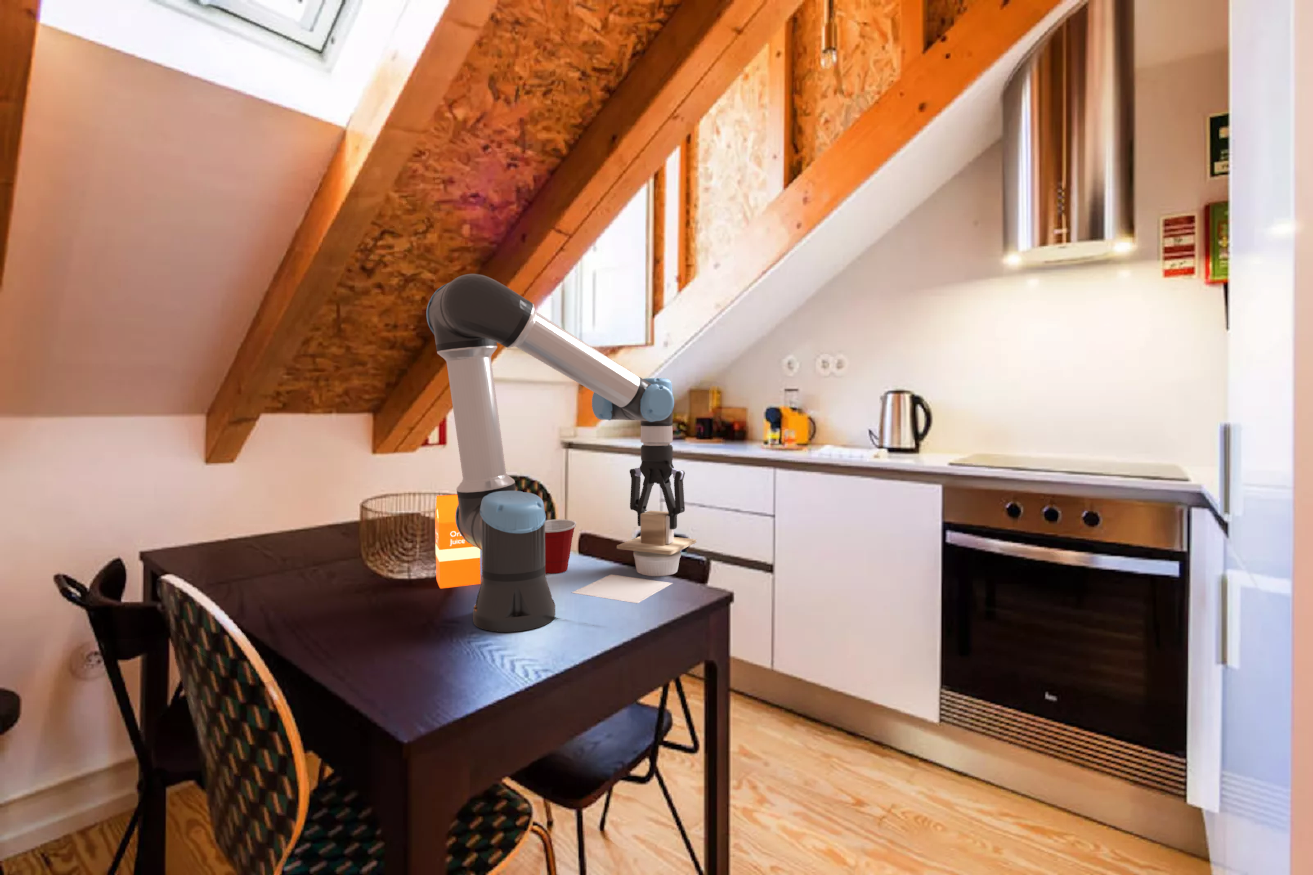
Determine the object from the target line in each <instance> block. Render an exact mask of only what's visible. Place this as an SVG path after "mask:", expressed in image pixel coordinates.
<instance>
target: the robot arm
mask: <svg viewBox="0 0 1313 875" xmlns="http://www.w3.org/2000/svg"><path fill="white" fill-rule="evenodd" d="M425 314H426V322H427V325H428V327H429V329H430V331H431V332H432V334H433V335H434V340H435V347H436V353H437V355H439V356H440V357H441V358H443V359H444V361H445V362H446V367H447V368H446V369H447V374H448V382H449V389H450V396H451V403H452V411H453V418H454V425H455V432H456V438H457V446H458V452H459V460H460V467H461V468H460V469H461V474H462V480H461V482H460V483H459V485H458V486H457V487H456V495H457V497H458V506H457V509H456V514H455V521H456V525H457V528H458V530H459V532H460V534H461V535H462V536H463V538H464V539H465V540H466V541H467V542H468V543H470V544H472V545H473V546H475V547H477V548H479V549H480V551H481V584H480V586H479V590H478V593H477V598H476V602H475V604H474V606H473V610H472V619H473V620H472V622H473V624H474V626H476V627H477V628H479V629H481V630H484V631H489V632H500V633H501V632H502V633H509V632H513V633H514V632H523V631H529V630H533V629H536V628H539V627H540V628H541V627H544V626H545V625H548V624H550V623H551V622H552V621H554V620H555V618H556V603H555V601H554V598H553V596H552V592H551V588H550V585H549V583H548V579H547V576H546V574H545V521H546V520H547V519H546V518H547V516H546V511H545V503H544V500H543V499H542V498H541V496H539V495H537V494H535V493H532V492H527V491H526V492H523V491H521V490H517V488H516V482H515V479H514V478H512V477H511V476H509V475H508V473H507V471H506V470H507V469H506V463H505V462H506V461H505V454H504V449H503V448H504V446H503V440H502V439H503V438H502V433H501V432H502V431H501V424H500V418H499V416H500V415H499V408H498V402H497V394H496V387H495V378H494V372H493V364H492V355H493V354H494V353H495V352H496V350H497V349H498V344H499V345H501V346H503V347H505V348H507V349H511V348H515V347H516V348H517V349H519V350H521V351H523V352H524V353H526V354H528V355H529V356H532V357H533V358H534V359H536V360H538V361H540V362H541V363H543V364H545V365H546V366H549V367H550V368H552V369H554V370H555V371H557V372H559V373H561V374H562V375H564V376H566V377H567V378H569V379H571V380H573V382H576V383H577V384H579V385H581V386H583V387H585V389H588V390H590V391H592V392H593V393H592V397H591V407H592V409H591V410H592V412H593V415H594V416H595V418H597V419H598V420H602V421H603V420H605V421H614V420H615V421H618V420H619V421H640V442H641V443H643V444H642V445H641V446H640V460H641V462H640V463H641V464H640V465H639V467H635V468H631V469H629V475H630V478H631V480H630V500H629V508H630V510H631V511H635V512H636V513H637V526H638V527H641V514H642V513H645V512H648V511H647V510H648V509H647V506H648V503H649V500H650V496H651V492H652V489H653V486H654V485H655V484H656V485H657V484H658V485H659V488H661V491H662V494H663V498H664V501H665V506H666V508H667V512H668V513H669V514H668V515H667V516H666V544H670V543H672V542H674V537H675V532H674V530H676V529H677V527H678V515H680V514H682V513H684V512H685V510H686V509H685V506H686V505H685V495H684V494H685V492H684V490H685V488H684V478H685V474H686V473H685V470H679V469H676V468H675V467H674V465H673V458H674V457H673V456H674V455H673V454H674V450H673V449H674V446H673V445H672V444H671V443H673V440H674V438H673V436H674V435H673V433H674V432H673V417H674V416H673V414H674V413H673V410H674V406H675V398H674V394H673V393H674V392H673V384H672V381H671V379H669V378H668V377H667V378H665V377H663V378H662V377H659V378H658V377H654V378H653V377H651V378H649V377H648V378H646V377H645V378H643V377H641V376H639V375H637V374H635V373H633V372H632V371H630V370H629V369H627V368H626V367H624V366H622V365H621V364H620V363H618V362H617V361H615V360H613V359H611V358H610V357H608V356H606V355H605V354H603V353H602V352H601V351H599V350H598V349H595V348H594V347H593V346H591V345H589V344H588V343H586V342H585V341H583V340H581V339H580V338H578V337H577V336H575V335H573V334H572V333H570V332H569V331H567V330H565V329H563V327H561V326H559V325H557V324H556V323H554V322H553V321H551V320H549V319H548V318H547V317H545V316H543V315H541V314H540V313H539V312H537V311H536V308H535V304H534V303H533V302H531V301H530V300H528V299H527V298H525V297H523V296H522V295H520V294H519V293H517V292H516V291H514V290H513V289H511V288H509V287H508V286H506V285H504V284H502V283H501V282H499V281H497V280H496V279H493V278H491V277H489V276H486V275H484V274H479V273H467V274H462V275H459V276H458V277H455V278H454V279H453V280H451V281H450V282H448V283H445V284H443V285H441V286H440V287H439V288H437V289H436V290H435V292H434V293H433V294H432V295H431V297H430V299H429V300H428V303H427V307H426V313H425ZM642 475H643V477H644V479H643V482H641V480H642V479H641V476H642ZM671 476H672V478H673V479H674V480H673V489H674V494H673V489H672V483H671V479H670V478H671ZM641 483H642V489H641Z"/></svg>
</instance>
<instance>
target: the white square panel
mask: <svg viewBox="0 0 1313 875" xmlns="http://www.w3.org/2000/svg"><path fill="white" fill-rule="evenodd" d="M671 585H673V582H670V581H669V582H667V581H660V580H653V579H645V578H638V577H634V576H633V577H631V576H625V575H619V574H618V575H617V574H609V575H606V576H605V577H602V578H600V579H598V580H596V581H594V582H591V583H589V584H587V585H585V586H583V587H580V588H578V589H576V590H574V591H571V594H577V595H583V596H590V597H597V598H600V599H601V598H603V599H608V600H615V601H620V602H628V603H633V604H639V603H641V602H643V601H644V600H646V599H648V598H650V597H652V596H653V595H655V594H657V593H659V592H660V591H662V590H664V589H666V588H667V587H669V586H671Z"/></svg>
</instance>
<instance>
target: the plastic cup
mask: <svg viewBox="0 0 1313 875" xmlns="http://www.w3.org/2000/svg"><path fill="white" fill-rule="evenodd" d="M576 525H577V521H574V520H572V519H564V518H563V519H562V518H561V519H559V518H557V519H556V518H555V519H546V520H545V575H546V574H547V575H548V574H550V575H551V574H552V575H554V574H563V573H565V572H567V571H568V568H569V563H570V562H569V560H570V556H571V550H572V549H571V548H572V544H573V542H572V541H573V537H574V532H575V528H576V527H577V526H576Z"/></svg>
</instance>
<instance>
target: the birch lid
mask: <svg viewBox="0 0 1313 875" xmlns="http://www.w3.org/2000/svg"><path fill="white" fill-rule="evenodd" d="M668 514H669V513H668V511H662V510H649V511H645V513H642V514H641V526H640V536H637V537H635V538H632V539H630V540H627V541H625V542H622V543H620V544H617V545H616V549H617V550H626V551H633V552H634V551H641V552H650V553H659V554H668V555H671V554H674V553H676V552H678V551H680V552H681V551H682V550H684V549H686V548H687V547H691V546H693V545H695V544H696V543H697V539H695V538H686V537H676V536H674V542H672V543H670V544H666V516H667V515H668Z"/></svg>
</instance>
